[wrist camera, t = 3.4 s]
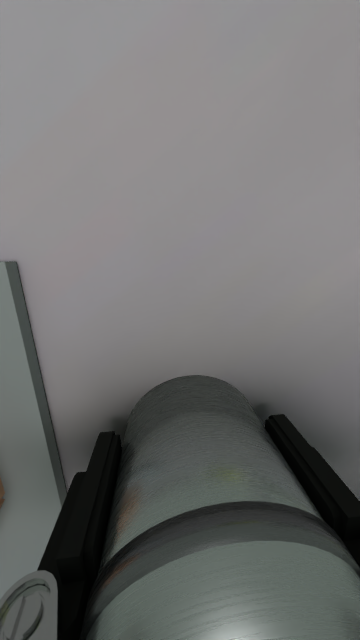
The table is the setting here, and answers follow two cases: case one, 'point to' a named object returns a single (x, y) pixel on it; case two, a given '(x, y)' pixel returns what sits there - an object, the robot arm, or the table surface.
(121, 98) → the table surface
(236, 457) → the piston
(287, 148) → the table surface
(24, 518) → the ring collar
